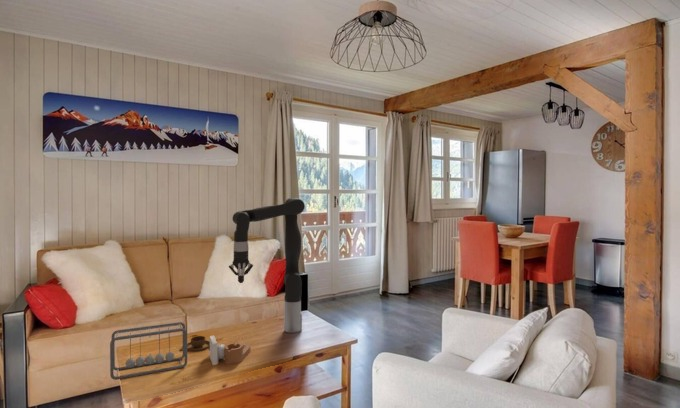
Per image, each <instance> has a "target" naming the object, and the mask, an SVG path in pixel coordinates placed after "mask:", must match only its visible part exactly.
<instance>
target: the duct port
mask: <svg viewBox="0 0 680 408" xmlns="http://www.w3.org/2000/svg"><path fill="white" fill-rule="evenodd" d="M209 342H210V351H209V359H210V361H211V364H212V366H217V365H219V361H220V360H222V359H224V360H225V344H224V343H223V344H218V342H217V339H216V337H215V335H210V336H209Z"/></svg>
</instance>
